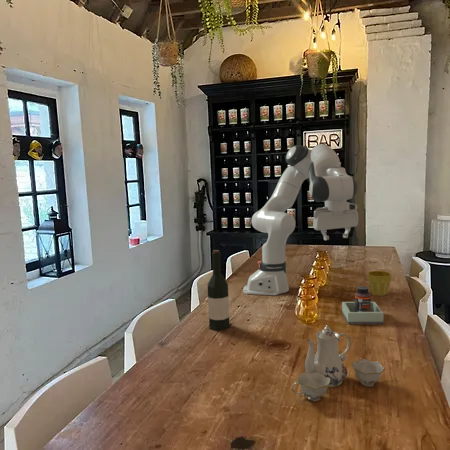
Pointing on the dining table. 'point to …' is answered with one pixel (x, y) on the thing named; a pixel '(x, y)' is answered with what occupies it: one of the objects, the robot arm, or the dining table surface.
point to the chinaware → (332, 366)
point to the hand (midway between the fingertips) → (335, 238)
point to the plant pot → (379, 282)
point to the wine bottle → (218, 296)
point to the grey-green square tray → (362, 314)
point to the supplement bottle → (362, 300)
